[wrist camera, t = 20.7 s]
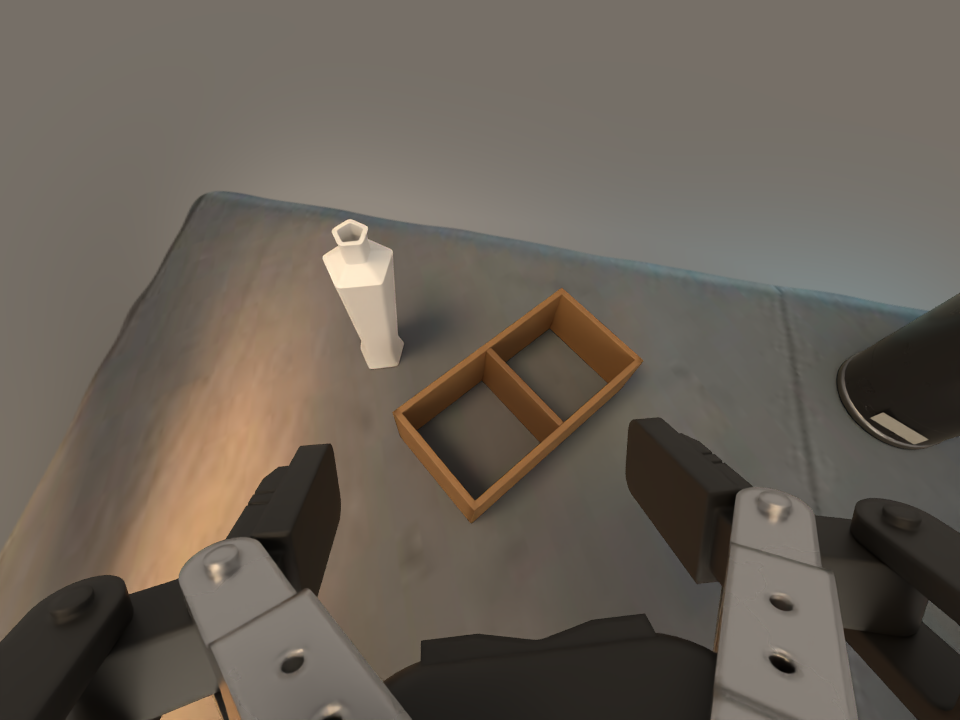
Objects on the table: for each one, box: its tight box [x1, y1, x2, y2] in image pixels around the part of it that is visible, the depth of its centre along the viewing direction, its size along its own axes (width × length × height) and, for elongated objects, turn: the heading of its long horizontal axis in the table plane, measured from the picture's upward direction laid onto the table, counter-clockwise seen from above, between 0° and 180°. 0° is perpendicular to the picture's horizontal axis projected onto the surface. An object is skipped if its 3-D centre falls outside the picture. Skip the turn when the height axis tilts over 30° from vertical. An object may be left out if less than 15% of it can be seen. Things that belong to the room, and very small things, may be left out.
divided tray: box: [393, 288, 643, 523], centre depth 37 cm, size 18×9×6 cm, turn 131°
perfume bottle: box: [323, 219, 404, 369], centre depth 35 cm, size 5×4×15 cm
